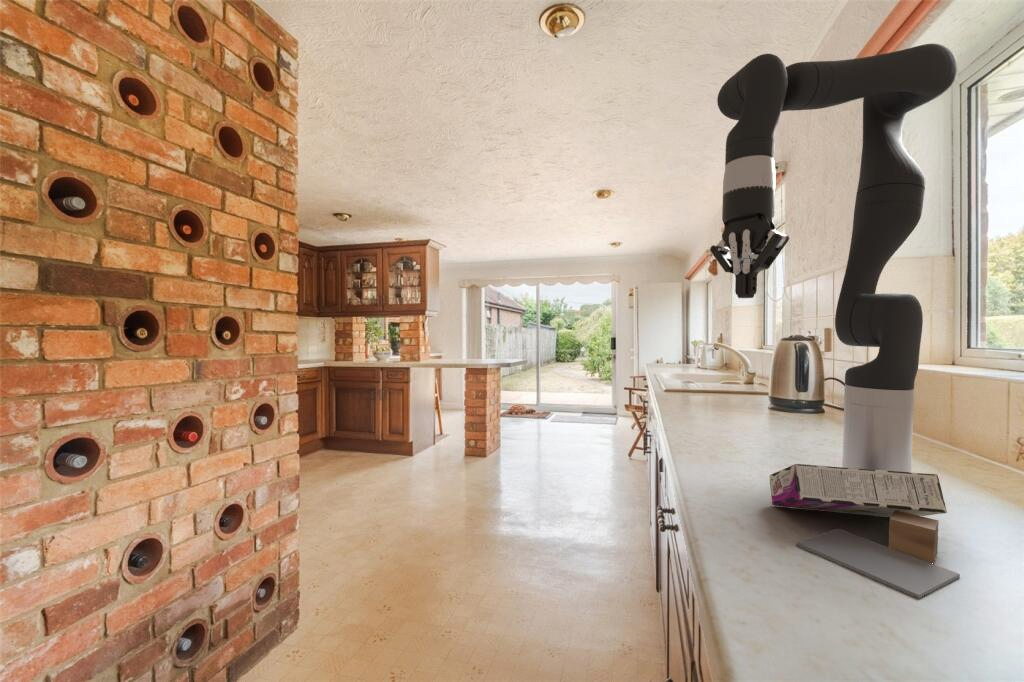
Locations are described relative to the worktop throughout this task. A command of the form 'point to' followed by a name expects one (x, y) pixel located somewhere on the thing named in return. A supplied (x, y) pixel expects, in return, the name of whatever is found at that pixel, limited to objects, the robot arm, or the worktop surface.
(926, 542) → the walnut block
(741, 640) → the worktop surface
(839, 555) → the plate
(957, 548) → the worktop surface
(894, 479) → the candy bar box
